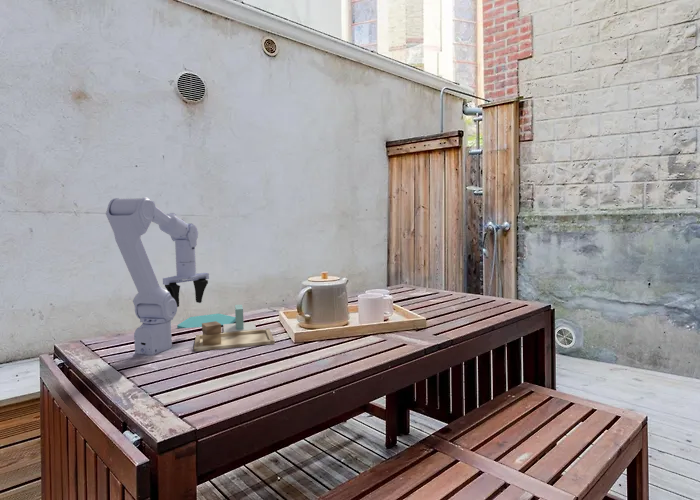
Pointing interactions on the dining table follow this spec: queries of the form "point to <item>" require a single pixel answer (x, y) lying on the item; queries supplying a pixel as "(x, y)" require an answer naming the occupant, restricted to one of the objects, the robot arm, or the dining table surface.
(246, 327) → the tile
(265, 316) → the dining table surface
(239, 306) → the panel
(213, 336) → the offcut
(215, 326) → the offcut
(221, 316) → the plaque
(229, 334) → the wooden tray
